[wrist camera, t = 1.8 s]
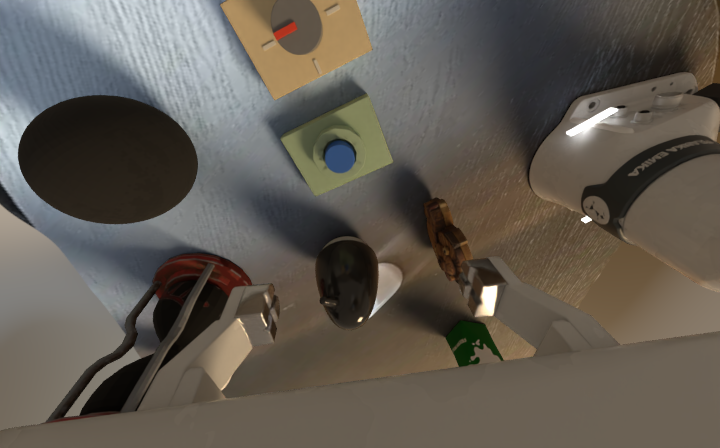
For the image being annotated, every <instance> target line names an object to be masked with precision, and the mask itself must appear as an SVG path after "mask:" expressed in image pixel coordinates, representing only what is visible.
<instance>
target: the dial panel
mask: <svg viewBox="0 0 720 448" xmlns="http://www.w3.org/2000/svg"><path fill="white" fill-rule="evenodd" d="M276 1H277V0H226V1H225V2H223V3H222V4H220V6H221V8H222V9H223V11H224V13H225V15H226V16H227V18H228V20H229V22H230V23H231V25H232V27H233V29H234V30H235V32H236V34H237V36H238V37H239V39H240V41H241V43H242V44H243V46H244V48H245V50H246V51H247V53H248V55H249V57H250V58H251V60H252V62H253V64H254V65H255V67H256V69H257V71H258V72H259V74H260V76H261V78H262V80H263V81H264V83H265V85H266V87H267V88H268V90H269V92H270V94H271V95H272V97H273V99H274V100H276V99H278V98H280V97H282V96H284V95H286V94H288V93H290V92H292V91H294V90H296V89H298V88H299V87H301V86H303V85H305V84H307V83H309V82H311V81H313V80H315V79H317V78H319V77H321V76H323V75H325V74H327V73H328V72H330V71H332V70H334V69H336V68H338V67H340V66H342V65H344V64H346V63H348V62H350V61H352V60H354V59H356V58H357V57H359V56H361V55H363V54H365V53H367V52H369V51H371V50H372V46H371V43H370V40H369V37H368V34H367V31H366V28H365V25H364V22H363V19H362V16H361V13H360V10H359V7H358V4H357V1H356V0H311V2H312V3H313V4H314V5H315V7H316V8H317V10H318V13H319V15H320V18H321V21H322V26H323V35H322V40H321V42H320V44H319V46H318V47H317V49H316V50H315V51H313V52H312V53H310V54H306V55H295V54H292V53H290V52H288V51H286V50H285V49H284V48H283V47H282V46H281V45H280V44H279V43H278V41H277V40H276V38H275V36H274V34H273V31H272V27H271V12H272V8H273V6H274V4H275V2H276Z"/></svg>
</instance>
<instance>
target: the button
mask: <svg viewBox="0 0 720 448" xmlns="http://www.w3.org/2000/svg"><path fill="white" fill-rule="evenodd" d="M354 162H355V156H354V151H353V149H352V147H351V146H350V145H349V144H348V143H347V142H345V141H340V140H338V141H334V142H332V143H330V144H329V145H328V147H327V148H326V151H325V163H326V165H327V167H328V168H329V169H330V170H331V171H333V172H335V173H345V172H347V171H349V170H350V169H351V168H352V167H353V165H354Z"/></svg>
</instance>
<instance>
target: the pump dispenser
mask: <svg viewBox="0 0 720 448" xmlns="http://www.w3.org/2000/svg"><path fill="white" fill-rule="evenodd" d="M315 273H316V281H317V287H318V291H319V294H320V297H321V298H320V303H321V304H322V305H323V306H324V308H325V310H326V312H327V314H328V316H329V317H330V319H331V320H332V321H333V323H334V324H335V325H336V326H338V327H339V328H341V329H344V330H354V329H357V328H359V327H361V326H362V325H364V324H365V322H366V321H367V320H368V318H369V316H370V314H371V312H372V310H373V307H374V304H375V300H376V295H377V289H378V278H379V271H378V260H377V257H376V254H375V252H374V251H373V250H372V249H371V248H370V247H369V246H368V245H367V244H366V243H365V242H364V241H362V240H361V239H358V238H356V237H351V236H343V237H339V238H336V239H334V240H332V241H330V242H329V243H328V244H326V246H325V247H324V248H323V249H322V251H321V252H320V253H319V255H318V256H317V259H316V264H315Z"/></svg>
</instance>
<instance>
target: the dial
mask: <svg viewBox="0 0 720 448" xmlns="http://www.w3.org/2000/svg"><path fill="white" fill-rule="evenodd" d="M271 27H272V31H273V34H274V36H275V38H276V40H277V41H278V43H279V44H280V45H281V46H282V47H283V48H284V49H285V50H286V51H288V52H290V53H292V54H295V55H306V54H310V53H312V52H313V51H315V50H316V49H317V47H318V46H319V44H320V42H321V40H322V35H323V26H322V21H321V18H320V15H319V13H318V10H317V8H316V7H315V5H314V4H313V3H312V2H311V0H277V1H276V2H275V4H274V6H273V8H272V12H271Z"/></svg>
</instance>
